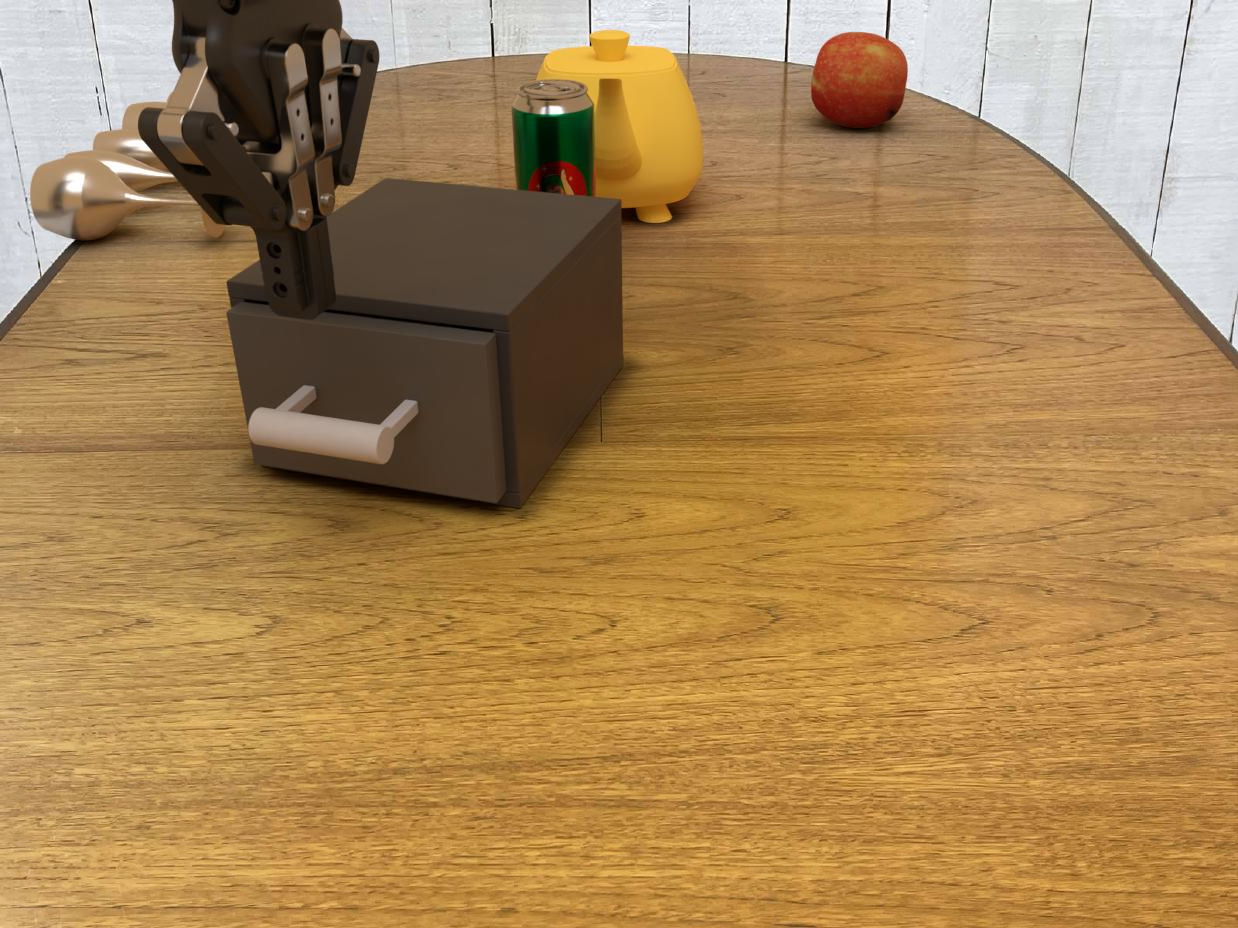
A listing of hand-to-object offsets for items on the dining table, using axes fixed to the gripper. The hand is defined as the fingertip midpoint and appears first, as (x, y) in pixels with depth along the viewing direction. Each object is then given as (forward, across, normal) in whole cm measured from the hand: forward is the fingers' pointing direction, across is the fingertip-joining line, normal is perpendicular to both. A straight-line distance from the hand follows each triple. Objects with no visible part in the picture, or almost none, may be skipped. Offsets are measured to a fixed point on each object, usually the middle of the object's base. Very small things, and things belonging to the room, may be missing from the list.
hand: (303, 310), depth 50 cm
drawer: (+10, -8, 0) cm, 13 cm away
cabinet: (+11, -12, 0) cm, 16 cm away
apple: (+11, -72, +12) cm, 74 cm away
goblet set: (+9, -42, -29) cm, 52 cm away
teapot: (+11, -46, -2) cm, 47 cm away
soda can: (+11, -32, -1) cm, 34 cm away
